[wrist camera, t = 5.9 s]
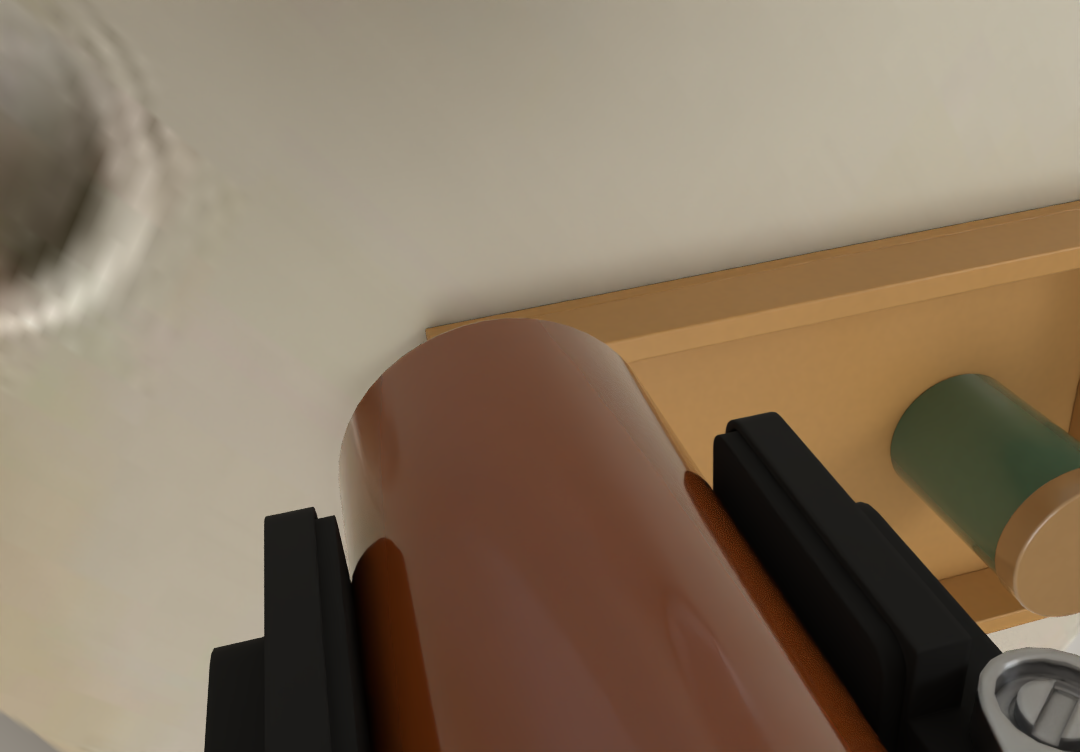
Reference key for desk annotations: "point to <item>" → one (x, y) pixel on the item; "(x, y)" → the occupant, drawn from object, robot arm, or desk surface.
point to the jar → (998, 485)
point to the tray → (861, 355)
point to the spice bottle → (561, 567)
